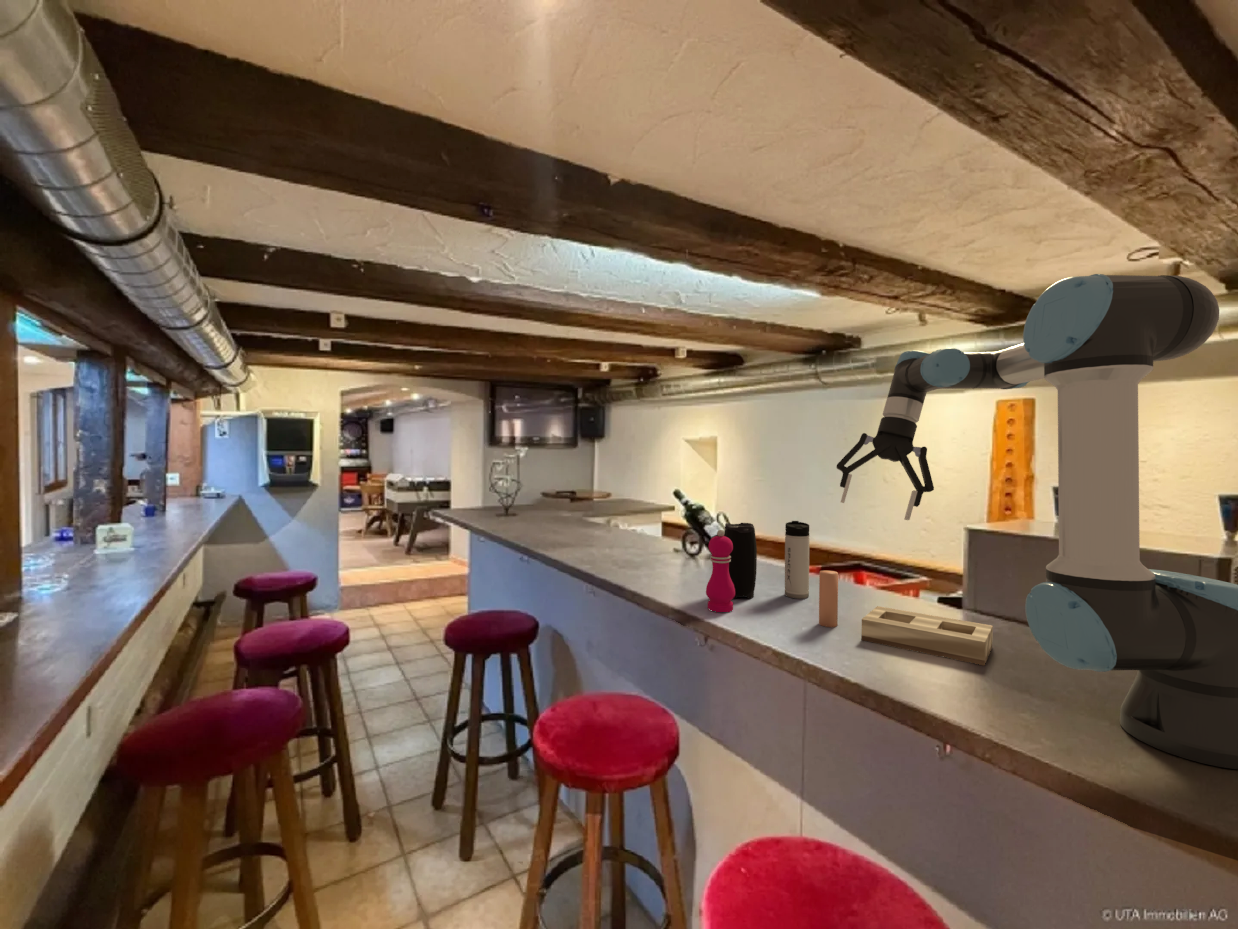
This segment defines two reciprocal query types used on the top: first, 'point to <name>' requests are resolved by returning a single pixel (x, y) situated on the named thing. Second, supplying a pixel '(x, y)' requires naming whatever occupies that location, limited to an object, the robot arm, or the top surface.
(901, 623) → the socket block
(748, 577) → the portable speaker
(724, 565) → the pepper mill
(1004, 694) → the top surface
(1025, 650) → the top surface
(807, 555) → the travel mug
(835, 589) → the pin
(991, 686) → the top surface
